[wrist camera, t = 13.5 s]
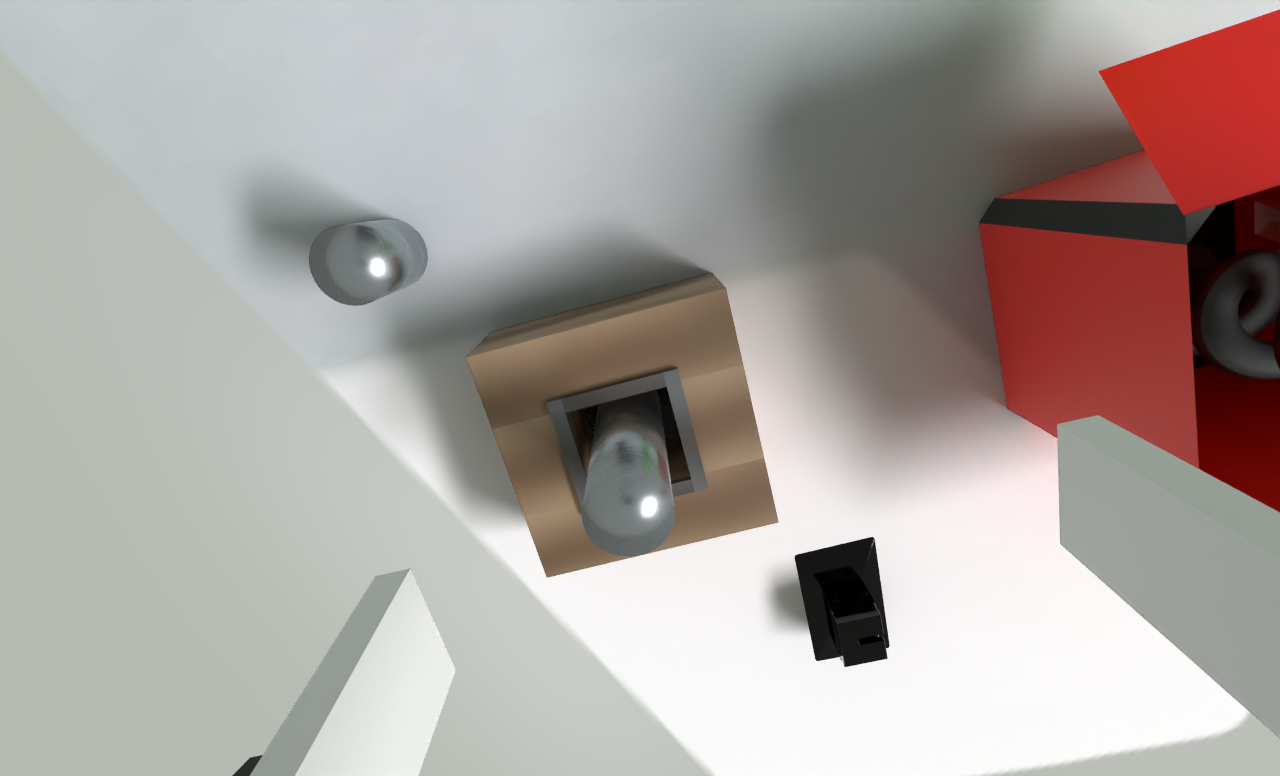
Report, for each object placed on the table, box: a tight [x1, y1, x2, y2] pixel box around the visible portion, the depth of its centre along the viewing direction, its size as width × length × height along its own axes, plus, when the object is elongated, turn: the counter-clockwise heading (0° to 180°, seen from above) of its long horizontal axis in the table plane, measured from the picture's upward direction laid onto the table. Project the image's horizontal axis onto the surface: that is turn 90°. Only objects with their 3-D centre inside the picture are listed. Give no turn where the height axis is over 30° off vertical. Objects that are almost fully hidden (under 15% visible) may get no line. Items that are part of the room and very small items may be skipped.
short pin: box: [309, 219, 428, 306], centre depth 34 cm, size 4×4×6 cm
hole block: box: [466, 273, 778, 577], centre depth 37 cm, size 14×14×6 cm
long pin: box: [582, 390, 675, 557], centre depth 33 cm, size 4×4×14 cm
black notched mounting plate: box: [795, 537, 889, 667], centre depth 43 cm, size 12×7×5 cm, turn 14°
